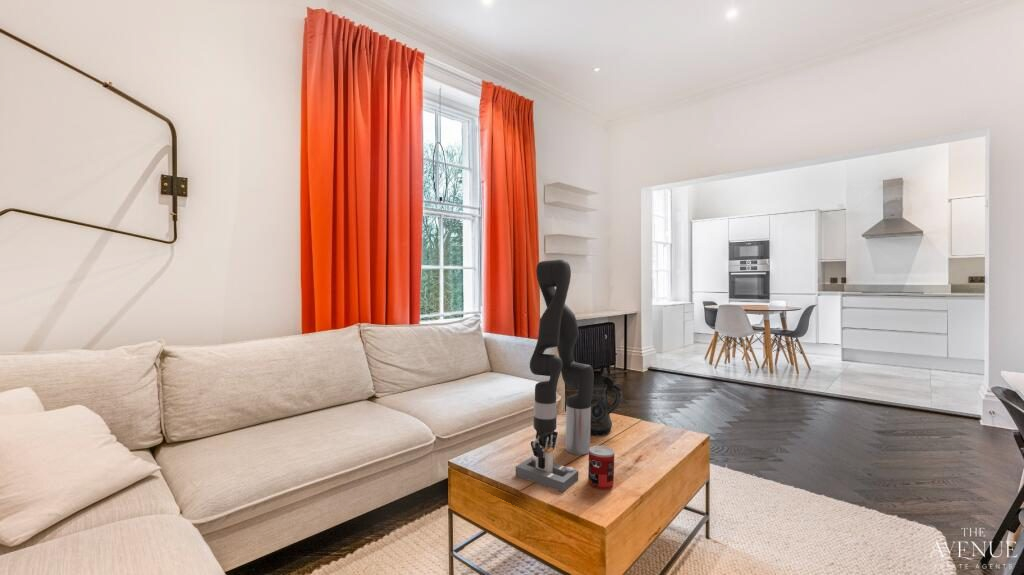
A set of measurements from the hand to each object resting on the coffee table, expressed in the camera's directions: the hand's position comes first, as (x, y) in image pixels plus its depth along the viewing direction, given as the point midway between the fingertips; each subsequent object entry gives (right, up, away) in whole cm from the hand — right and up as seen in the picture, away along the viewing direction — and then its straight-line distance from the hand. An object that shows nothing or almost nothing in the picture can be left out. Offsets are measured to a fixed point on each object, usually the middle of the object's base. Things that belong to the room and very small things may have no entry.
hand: (544, 465), depth 142 cm
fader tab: (0, -4, 0) cm, 4 cm away
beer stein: (+26, -3, +44) cm, 51 cm away
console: (+1, -4, -1) cm, 4 cm away
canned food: (+18, -4, -4) cm, 19 cm away
